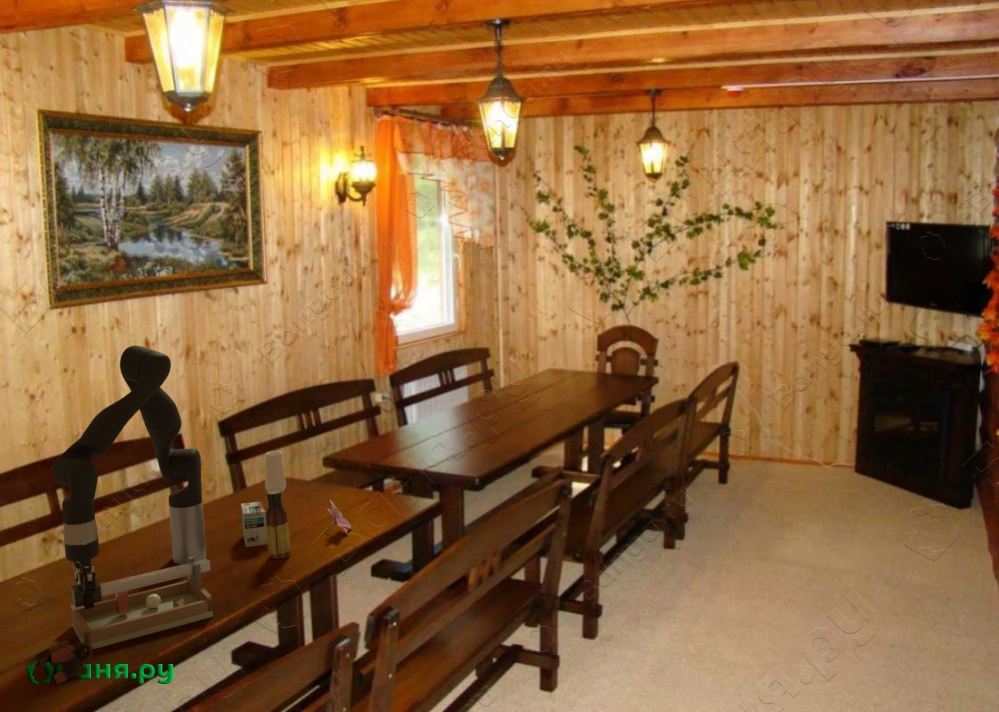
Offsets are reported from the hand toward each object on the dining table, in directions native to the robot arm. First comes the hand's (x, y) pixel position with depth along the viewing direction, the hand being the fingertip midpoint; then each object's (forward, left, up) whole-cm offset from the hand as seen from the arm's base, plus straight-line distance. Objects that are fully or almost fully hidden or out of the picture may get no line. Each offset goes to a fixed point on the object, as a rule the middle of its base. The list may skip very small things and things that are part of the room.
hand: (87, 604), depth 225 cm
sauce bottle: (-17, +56, -7) cm, 59 cm away
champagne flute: (-43, +66, -7) cm, 79 cm away
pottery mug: (+19, -9, -7) cm, 22 cm away
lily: (-24, +79, -7) cm, 82 cm away
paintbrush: (0, +13, -4) cm, 14 cm away
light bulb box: (-34, +55, -7) cm, 65 cm away
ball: (0, +15, -3) cm, 16 cm away
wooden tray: (+3, +12, -7) cm, 14 cm away
